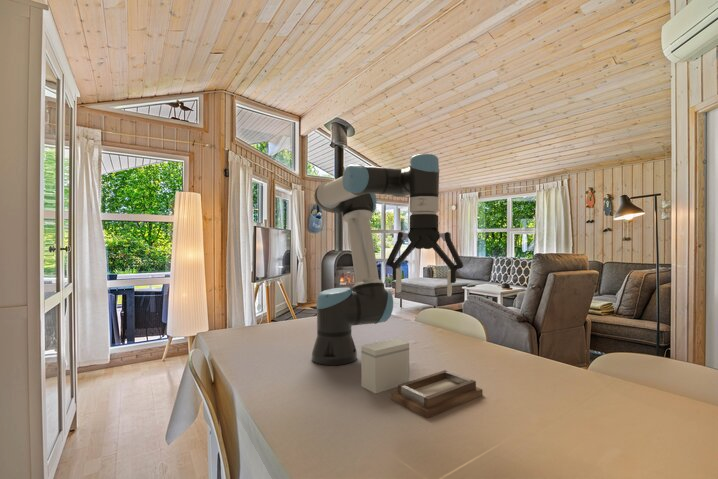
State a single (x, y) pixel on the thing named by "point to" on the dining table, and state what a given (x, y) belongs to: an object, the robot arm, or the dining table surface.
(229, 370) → the dining table surface
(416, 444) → the dining table surface
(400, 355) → the white lidded box
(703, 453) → the dining table surface
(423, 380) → the tray
